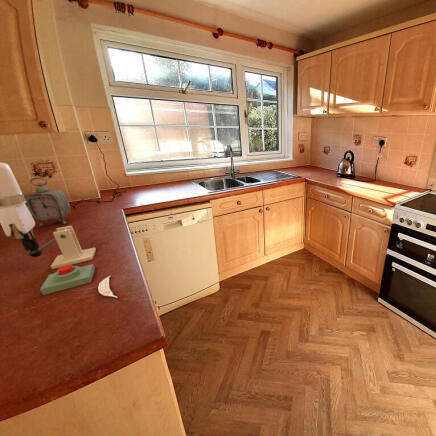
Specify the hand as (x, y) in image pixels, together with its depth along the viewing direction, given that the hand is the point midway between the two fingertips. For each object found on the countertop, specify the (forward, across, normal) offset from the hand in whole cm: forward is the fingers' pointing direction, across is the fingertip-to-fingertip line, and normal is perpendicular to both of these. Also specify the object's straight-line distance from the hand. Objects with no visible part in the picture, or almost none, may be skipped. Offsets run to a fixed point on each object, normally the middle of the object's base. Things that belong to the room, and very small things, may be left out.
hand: (33, 248), depth 88 cm
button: (+4, +18, +12) cm, 22 cm away
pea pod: (+8, +30, +23) cm, 39 cm away
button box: (+8, +18, +12) cm, 23 cm away
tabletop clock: (+8, -53, -7) cm, 54 cm away
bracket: (+8, 0, +10) cm, 12 cm away
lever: (+1, 0, +6) cm, 6 cm away
